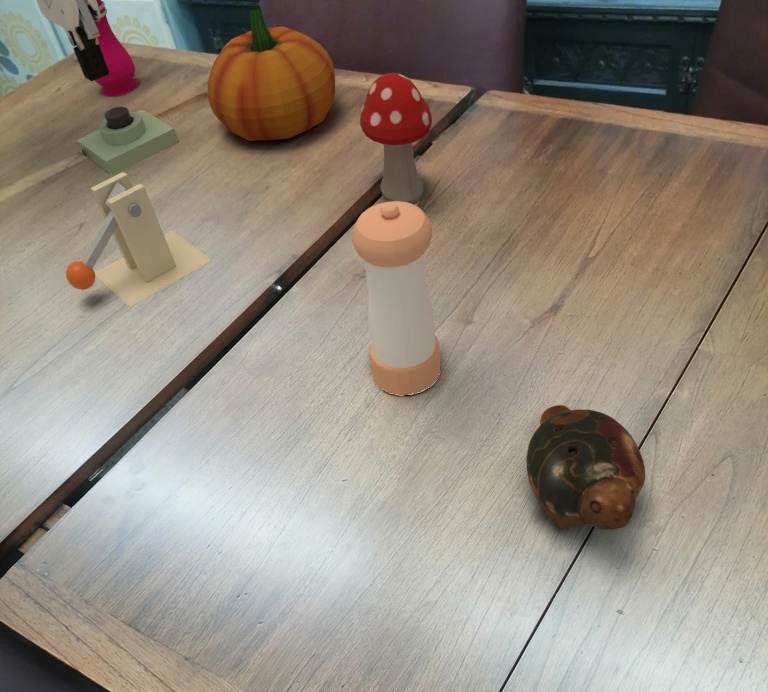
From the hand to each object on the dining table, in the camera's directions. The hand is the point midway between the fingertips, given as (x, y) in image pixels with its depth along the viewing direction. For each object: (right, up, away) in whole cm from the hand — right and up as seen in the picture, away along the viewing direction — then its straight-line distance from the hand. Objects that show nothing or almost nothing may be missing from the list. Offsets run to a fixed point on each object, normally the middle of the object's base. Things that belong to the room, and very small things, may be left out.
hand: (97, 76), depth 100 cm
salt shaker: (+44, -48, -26) cm, 70 cm away
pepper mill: (-4, +9, +20) cm, 22 cm away
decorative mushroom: (+44, -21, -7) cm, 49 cm away
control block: (+2, -6, +9) cm, 11 cm away
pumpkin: (+25, -2, +9) cm, 27 cm away
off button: (+1, -4, +6) cm, 7 cm away
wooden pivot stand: (+12, -33, -11) cm, 36 cm away
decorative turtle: (+59, -61, -37) cm, 93 cm away
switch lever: (+9, -31, -17) cm, 37 cm away
